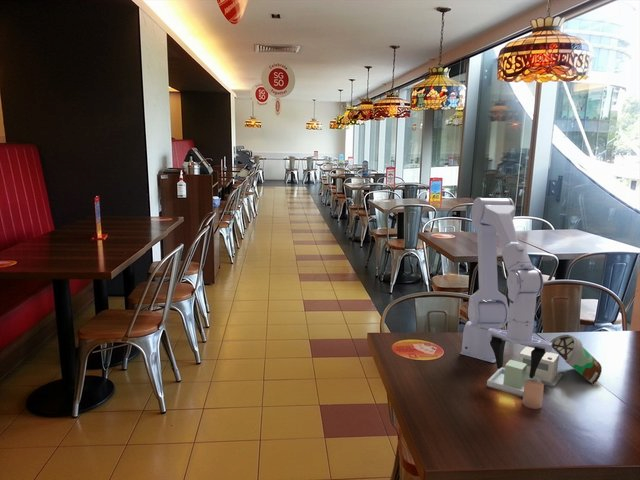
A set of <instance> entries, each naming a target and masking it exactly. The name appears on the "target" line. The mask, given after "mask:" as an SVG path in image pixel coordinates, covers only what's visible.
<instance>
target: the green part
mask: <svg viewBox="0 0 640 480" xmlns="http://www.w3.org/2000/svg"><path fill="white" fill-rule="evenodd" d="M504 368H505V372H504V382H503V384H505V385H509V386H512V387H515V388H518V389H521V388H522V386H523V385H524V383H525V380H526V371H527V364H525V363H521V362H519V360H514V359H508V362H506V364H504Z"/></svg>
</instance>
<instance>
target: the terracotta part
mask: <svg viewBox="0 0 640 480" xmlns="http://www.w3.org/2000/svg"><path fill="white" fill-rule="evenodd" d="M544 387H545V385H544V384H543V383H541V382H539V381H536V380H526V381H525V383H524V392H523V397H522V405H523V406H524V407H527V408H528V409H535V410H537V409H538V410H539V409H541V408H542V405H543V396H544Z"/></svg>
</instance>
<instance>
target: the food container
mask: <svg viewBox="0 0 640 480" xmlns="http://www.w3.org/2000/svg"><path fill="white" fill-rule="evenodd" d="M549 342H552V350H554V351H556V354H559V357H561V358H562V359H563V360H564V361H565V363H566V364H568V365H569V366H570V367H571V368H572V369H574V370H575V371H576V372H577V373H578V374H579V375H581V376H582V377H583V378H584V379H586V380H587V381H588V382H589V383H590V384H591V385H593V386H594V385H595V384H596V383H597V382H598V380H599V378H600V377H601V375H602V369H603V368H602V367H603V366H602V365H601V363H600V362H599V361H598V360H597V359H596V358H595V357H594V356H593V355H592V354H591V353H590V352H589V351H588V350H587V349H585V347H584V346H583V342H582V341H581V340H580V339H578V338H577V337H575V336H573V335H569V334H562V335H558V336H556V337H555V338H553V339H551V340H550V341H549Z"/></svg>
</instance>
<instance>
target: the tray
mask: <svg viewBox="0 0 640 480" xmlns="http://www.w3.org/2000/svg"><path fill="white" fill-rule="evenodd" d="M504 372H505V367H503V366H502V367H501V368H500V369H498V368H497V370H496V371H495V372H494V374H492V375H491V376H490V377H489V378H488V379H487V380H486V387H489V388H492V389H494V390H499V391H502V392H504V393H508V394H512V395H515V396H518V397H520V398H523V392H524V385H523V386H522V388H521V389H518V388H515V387H512V386H509V385H505V384H503V382H504ZM526 380H536V381H539V382H541V381H542V379H541V378H538V377H533V378H529V375H527V374H526ZM526 380H525V381H526Z"/></svg>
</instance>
